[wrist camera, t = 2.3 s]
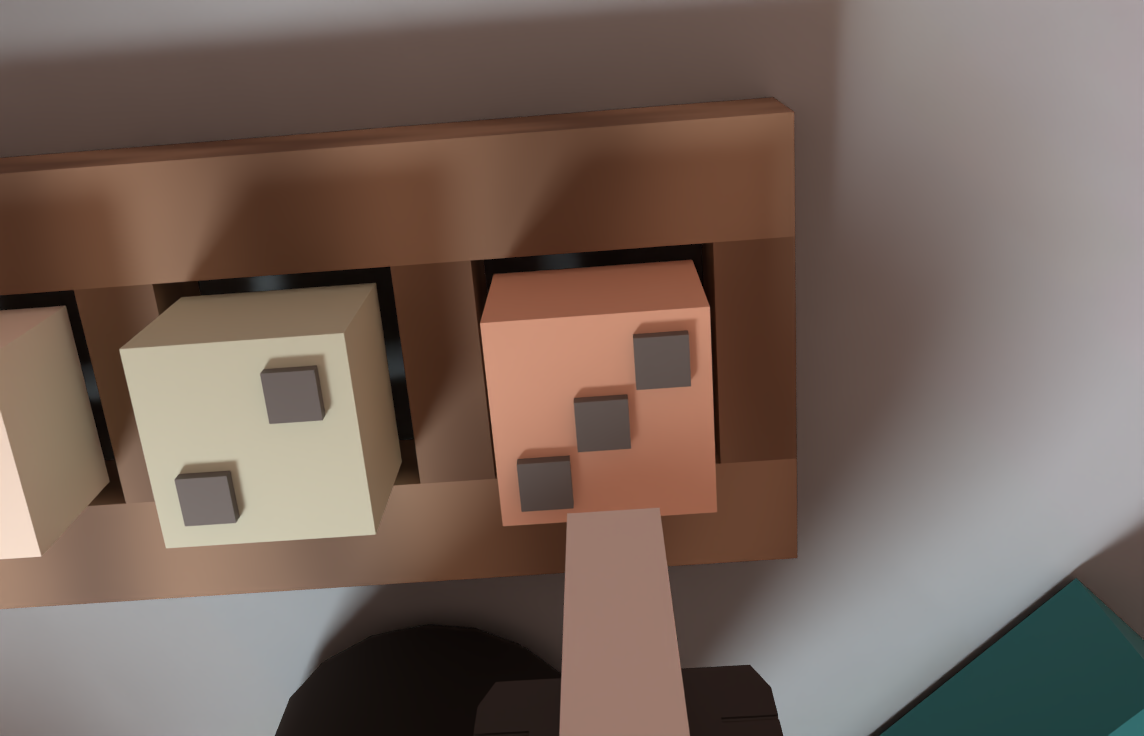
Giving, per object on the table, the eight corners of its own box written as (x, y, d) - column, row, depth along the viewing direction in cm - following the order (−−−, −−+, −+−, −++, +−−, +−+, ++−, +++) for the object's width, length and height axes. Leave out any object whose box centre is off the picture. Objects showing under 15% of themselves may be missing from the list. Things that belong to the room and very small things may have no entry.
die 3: (513, 454, 29) (501, 532, 25) (493, 274, 28) (479, 327, 24) (699, 441, 29) (718, 518, 25) (692, 259, 27) (711, 310, 23)
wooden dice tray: (-71, 562, 34) (-130, 617, 31) (-197, 173, 29) (-278, 195, 27) (778, 506, 33) (797, 557, 30) (773, 97, 29) (794, 112, 26)
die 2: (218, 474, 30) (161, 555, 26) (181, 297, 28) (113, 353, 24) (401, 461, 29) (373, 541, 25) (376, 282, 28) (340, 337, 24)
